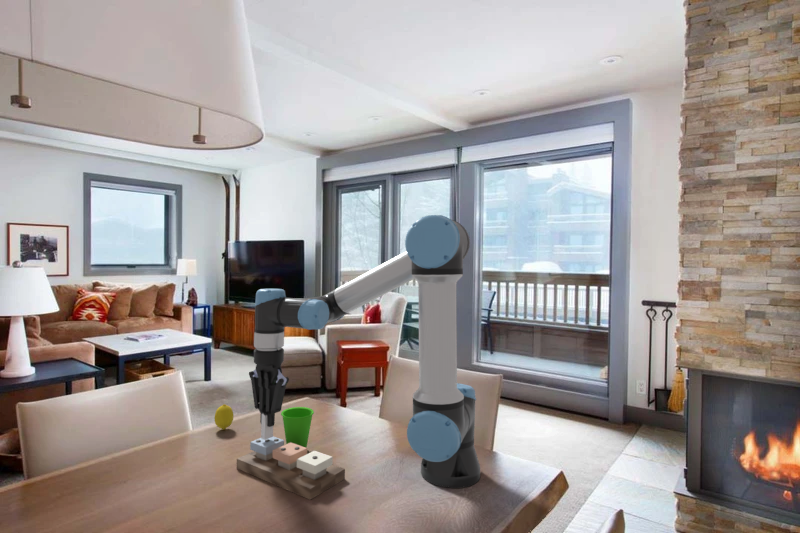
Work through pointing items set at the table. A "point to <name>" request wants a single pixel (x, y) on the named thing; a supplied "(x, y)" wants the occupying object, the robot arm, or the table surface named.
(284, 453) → the tile two
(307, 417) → the cup
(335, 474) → the board
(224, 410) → the lemon
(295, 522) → the table surface
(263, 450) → the tile three
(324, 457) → the tile one
